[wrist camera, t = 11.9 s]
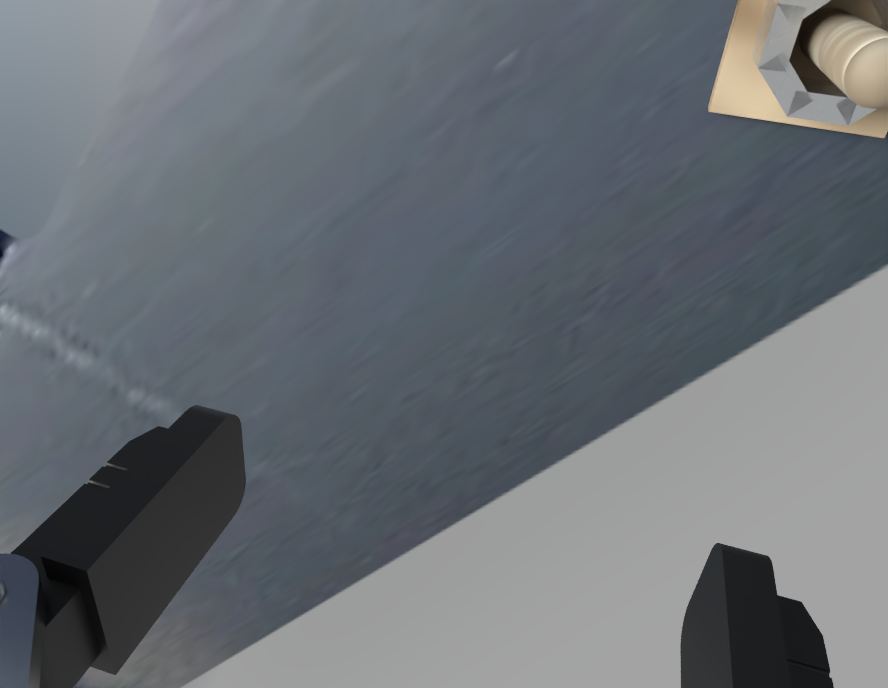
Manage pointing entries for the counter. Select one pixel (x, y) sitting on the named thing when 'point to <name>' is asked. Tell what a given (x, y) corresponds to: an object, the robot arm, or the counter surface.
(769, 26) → the ring
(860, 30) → the post stand
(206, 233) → the counter surface
